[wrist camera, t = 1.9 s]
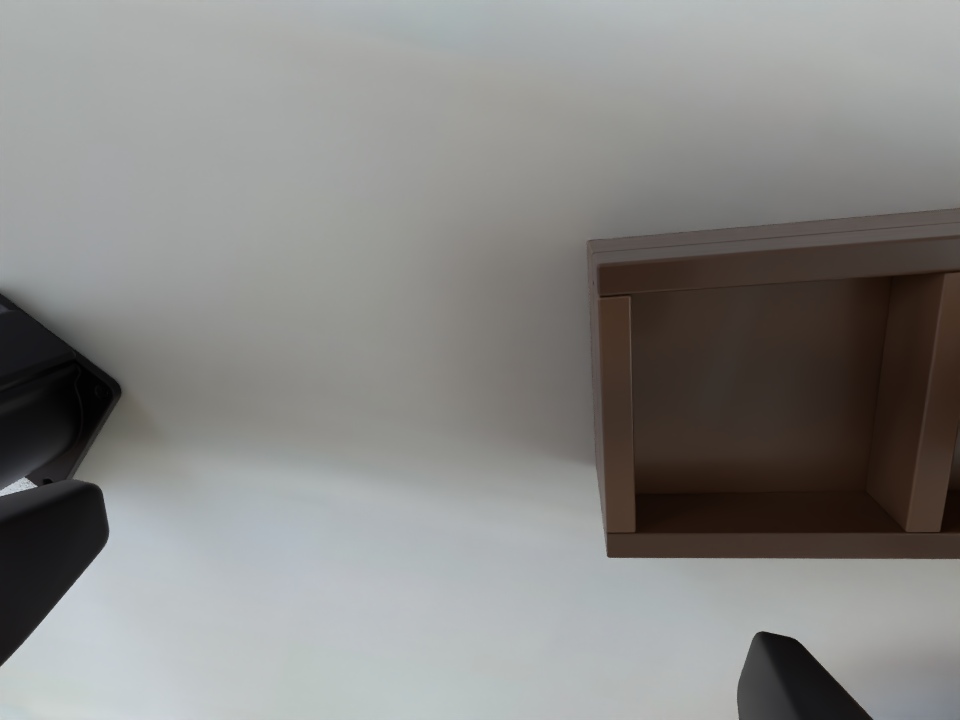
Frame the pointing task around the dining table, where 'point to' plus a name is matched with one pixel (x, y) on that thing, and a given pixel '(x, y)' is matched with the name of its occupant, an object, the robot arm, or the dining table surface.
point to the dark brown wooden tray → (780, 389)
